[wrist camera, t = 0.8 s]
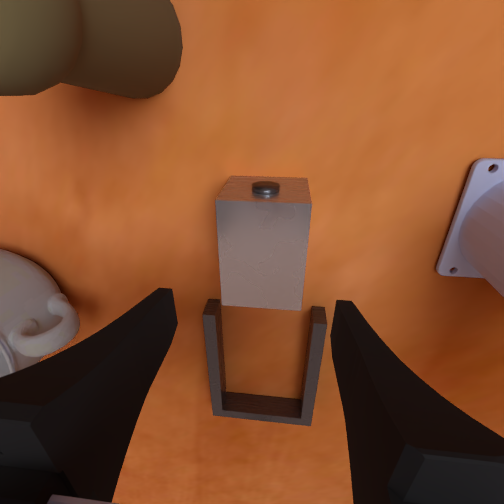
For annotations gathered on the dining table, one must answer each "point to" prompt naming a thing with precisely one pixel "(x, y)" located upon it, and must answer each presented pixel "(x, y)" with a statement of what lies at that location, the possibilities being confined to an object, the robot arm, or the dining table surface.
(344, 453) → the dining table surface
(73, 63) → the olive pawn piece
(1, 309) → the teacup
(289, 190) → the block
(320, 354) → the channel bracket
